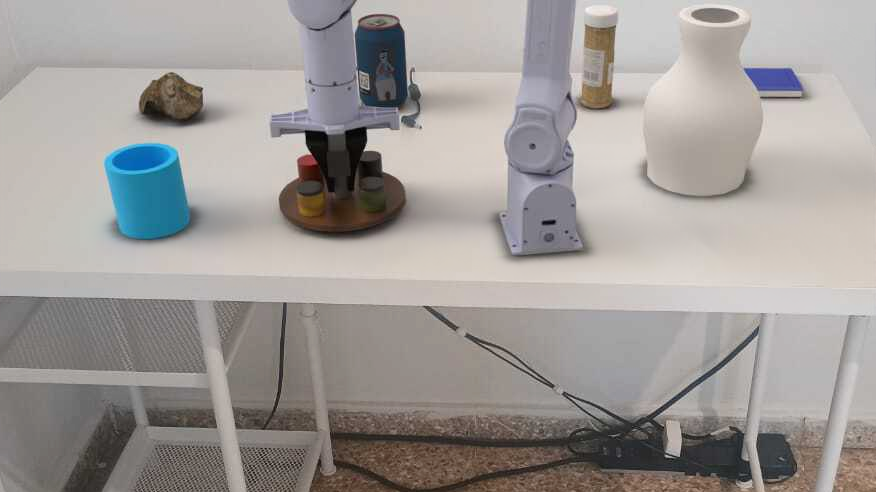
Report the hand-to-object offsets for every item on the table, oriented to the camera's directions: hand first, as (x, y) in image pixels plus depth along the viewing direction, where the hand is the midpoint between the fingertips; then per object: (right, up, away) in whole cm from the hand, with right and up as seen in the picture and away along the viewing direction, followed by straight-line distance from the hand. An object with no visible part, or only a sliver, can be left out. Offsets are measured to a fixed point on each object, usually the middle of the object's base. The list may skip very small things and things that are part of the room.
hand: (340, 188), depth 122 cm
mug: (-22, -3, +1) cm, 22 cm away
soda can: (+3, +16, +27) cm, 32 cm away
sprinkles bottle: (+33, +16, +26) cm, 45 cm away
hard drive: (+57, +20, +30) cm, 67 cm away
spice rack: (0, -2, +2) cm, 3 cm away
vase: (+43, +3, +7) cm, 44 cm away
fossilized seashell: (-27, +14, +25) cm, 39 cm away
